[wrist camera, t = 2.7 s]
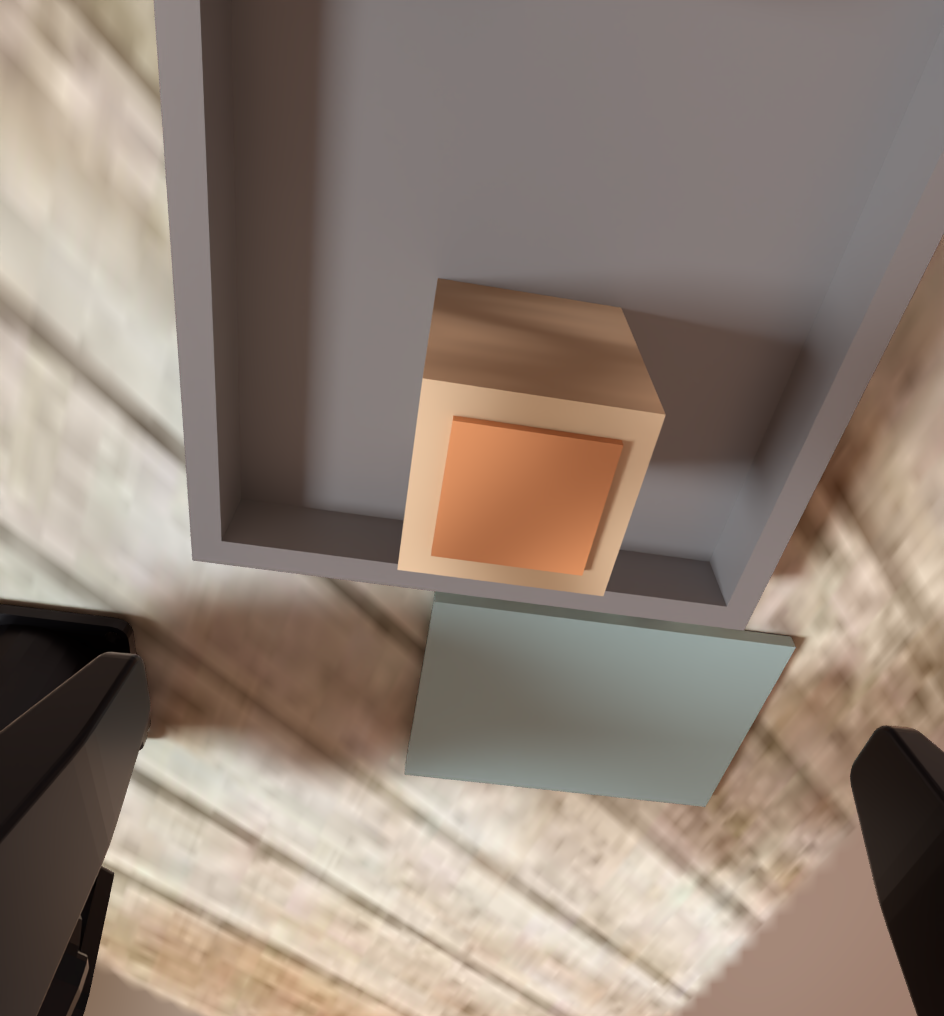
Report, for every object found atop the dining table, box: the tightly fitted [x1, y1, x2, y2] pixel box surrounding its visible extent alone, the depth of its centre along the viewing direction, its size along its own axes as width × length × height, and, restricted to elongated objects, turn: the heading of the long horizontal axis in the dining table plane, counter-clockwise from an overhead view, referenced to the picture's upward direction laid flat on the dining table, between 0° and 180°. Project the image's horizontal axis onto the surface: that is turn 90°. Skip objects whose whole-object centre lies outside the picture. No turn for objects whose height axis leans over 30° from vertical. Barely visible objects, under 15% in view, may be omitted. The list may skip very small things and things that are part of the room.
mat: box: [405, 591, 796, 807], centre depth 27 cm, size 12×9×1 cm
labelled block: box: [397, 278, 666, 596], centre depth 17 cm, size 4×4×6 cm
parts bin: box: [154, 0, 944, 631], centre depth 16 cm, size 16×22×2 cm
